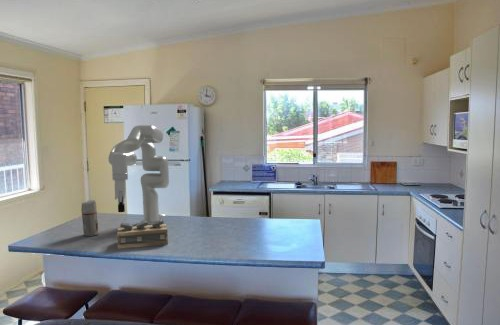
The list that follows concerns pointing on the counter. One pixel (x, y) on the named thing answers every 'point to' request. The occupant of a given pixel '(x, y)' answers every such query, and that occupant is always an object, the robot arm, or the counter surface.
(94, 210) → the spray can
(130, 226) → the rocker left
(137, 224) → the rocker middle
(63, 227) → the counter surface
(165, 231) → the switch unit
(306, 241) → the counter surface
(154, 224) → the rocker right
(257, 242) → the counter surface
